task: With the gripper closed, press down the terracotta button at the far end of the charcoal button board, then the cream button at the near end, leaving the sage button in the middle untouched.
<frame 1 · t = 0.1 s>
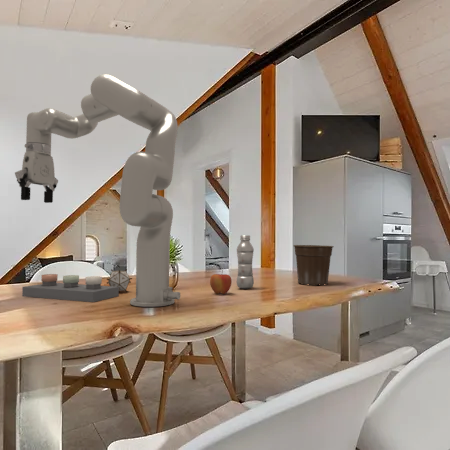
hand: (37, 201, 124), 31 cm above the table, fingers open, 9 cm apart
plant pot: (313, 284, 154), on the table
sage button: (70, 283, 119), point 4 cm above the table, slide at 0.0 cm
terracotta button: (49, 281, 122), point 4 cm above the table, slide at 0.0 cm
apple: (220, 294, 125), on the table
game die: (118, 292, 128), on the table
board: (70, 296, 119), on the table
cream button: (93, 284, 116), point 4 cm above the table, slide at 0.0 cm
plastic bottle: (245, 289, 138), on the table
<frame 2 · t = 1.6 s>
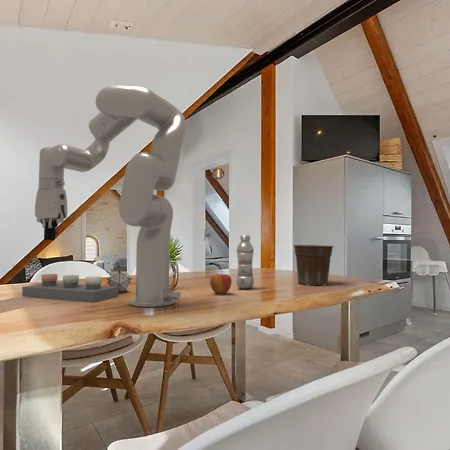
hand: (49, 240, 123), 18 cm above the table, fingers closed
nothing on the table moved.
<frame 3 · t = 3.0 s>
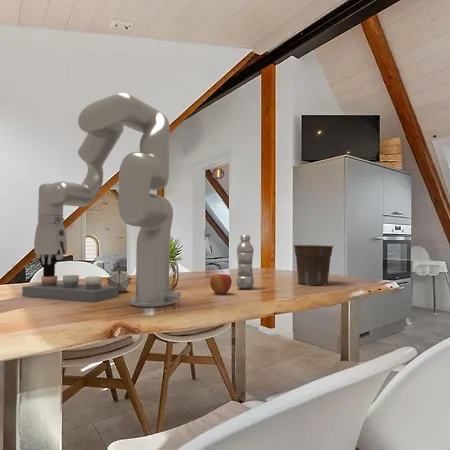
hand: (48, 276, 122), 6 cm above the table, fingers closed
terracotta button: (49, 283, 122), point 4 cm above the table, slide at 0.5 cm, touching gripper
everything else where it was.
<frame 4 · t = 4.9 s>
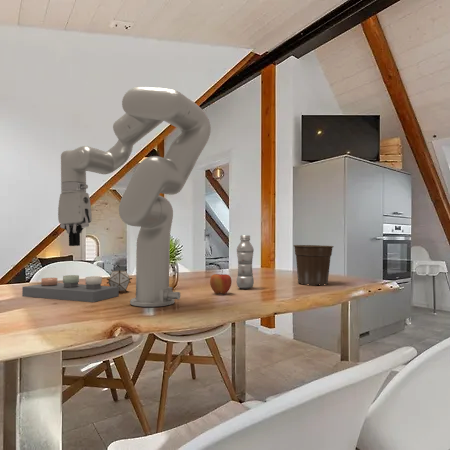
hand: (74, 245, 119), 16 cm above the table, fingers closed
terracotta button: (49, 285, 122), point 3 cm above the table, slide at 1.2 cm
everything else where it was.
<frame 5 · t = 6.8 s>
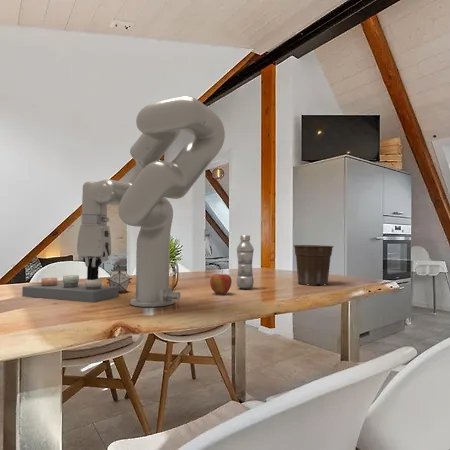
hand: (92, 279, 116), 6 cm above the table, fingers closed
cream button: (93, 286, 116), point 4 cm above the table, slide at 0.7 cm, touching gripper
everything else where it was.
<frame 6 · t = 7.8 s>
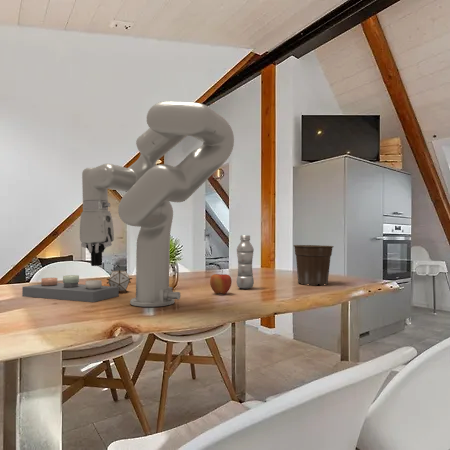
hand: (96, 265, 116), 10 cm above the table, fingers closed
cream button: (93, 288, 116), point 3 cm above the table, slide at 1.2 cm
everything else where it was.
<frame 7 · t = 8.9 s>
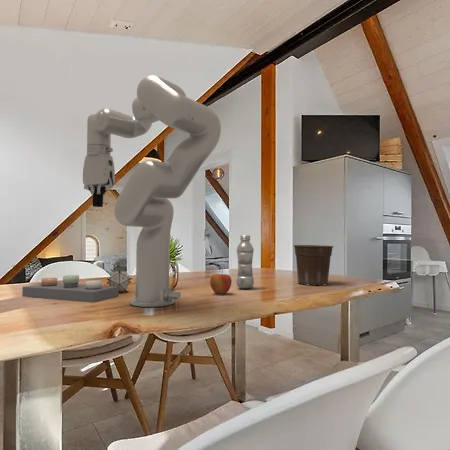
hand: (97, 206, 124), 29 cm above the table, fingers closed
nothing on the table moved.
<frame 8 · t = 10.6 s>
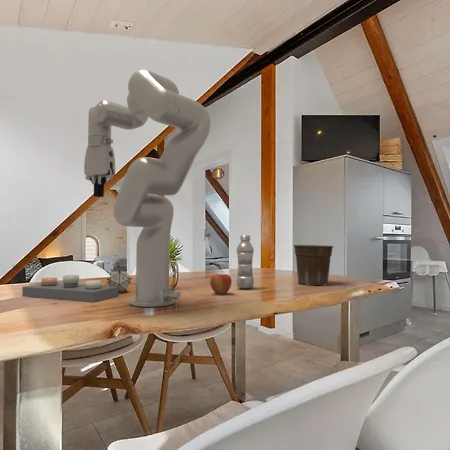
hand: (98, 196, 127), 33 cm above the table, fingers closed
nothing on the table moved.
at the end: terracotta button slide at 1.2 cm; cream button slide at 1.2 cm; sage button slide at 0.0 cm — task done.
